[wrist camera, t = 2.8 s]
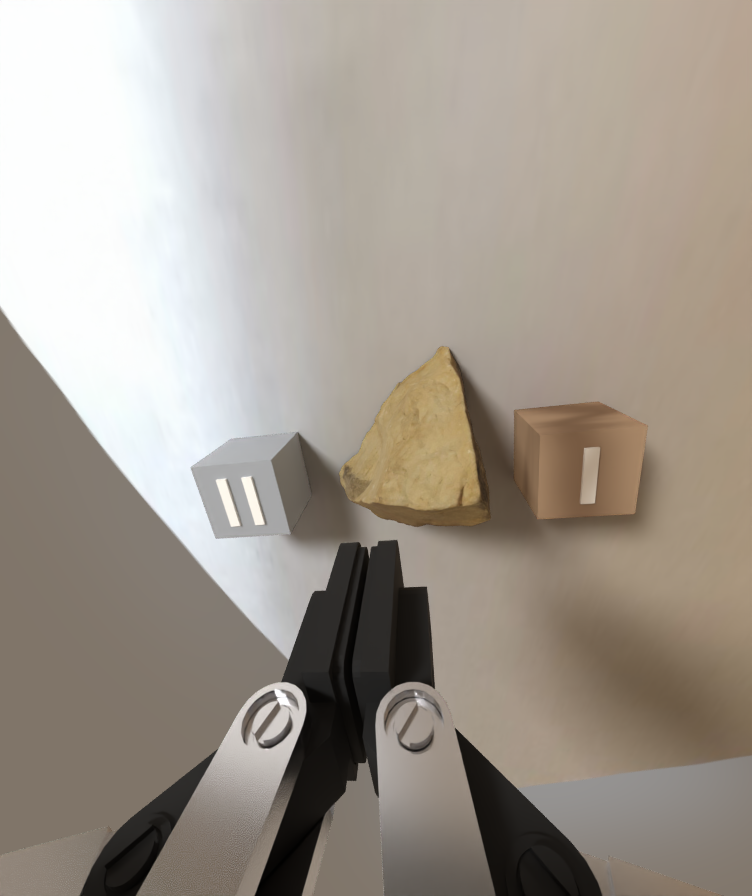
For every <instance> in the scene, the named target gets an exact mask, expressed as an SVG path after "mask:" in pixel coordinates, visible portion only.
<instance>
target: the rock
mask: <svg viewBox="0 0 752 896" xmlns="http://www.w3.org/2000/svg"><path fill="white" fill-rule="evenodd" d="M339 476H340V482H341V485H342V486H343V487H344V489H345V492H346V495H347V497H348V499H349V500H351V501H352V502H354V503H356V504H359V505H361V506H363V507H366V508H368V509H370V510H371V511H372V512H373V513H374V514H375V515H377V516H378V517H380V518H383V519H387V520H394V521H397V522H398V523H404V524H406V525H411V526H414V527H419V526H423V525H426V524H431V525H435V526H460V525H462V526H474V525H477V524H480V523H483V522H485V521H488V520H490V519H491V516H490V507H489V488H488V483H487V479H486V473H485V469H484V466H483V462H482V458H481V453H480V449H479V447H478V445H477V443H476V441H475V438H474V434H473V429H472V424H471V421H470V417H469V412H468V408H467V404H466V397H465V390H464V384H463V380H462V375H461V371H460V368H459V366H458V364H457V363H456V361H455V360H454V358H453V357H452V355H451V353H450V350H449V347H443V346H442V347H440V348H439V349H438V350H437V352H436V354H435V355H434V357H433V358H432V359H430V360H429V361H427V362H426V363H425V364H424V365H422V366H421V367H420V368H419V369H418V370H417V371H415V372H413V373H412V374H410V375H409V376H408V377H407V378H406V379H405V380H404V381H403V382H401V383H398V384H397V385H396V387H395V389H394V390H393V391H392V393H391V395H390V396H389V398H388V399H387V400H386V401H385V402H384V403H383V405H382V406H381V409H380V411H379V413H378V414H377V416H376V418H375V423H374V425H373V426H372V428H371V430H370V431H369V432H367V434H366V436H365V438H364V440H363V442H362V445H361V448H360V450H359V453H357V454H356V455H355V456H353V457H352V458H351V459H350V460H349V461H348V462H346V463H345V464H344V465H343V466H342V468H341V471H340V472H339Z"/></svg>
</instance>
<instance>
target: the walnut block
mask: <svg viewBox="0 0 752 896" xmlns="http://www.w3.org/2000/svg"><path fill="white" fill-rule="evenodd" d="M647 428H648V426H647V425H645V424H643V423H641V422H639V421H637V420H635V419H633V418H631V417H629V416H627V415H625V414H623V413H621V412H619V411H617V410H614V409H612V408H610V407H608V406H606V405H604V404H602V403H600V402H590V403H580V404H570V405H559V406H549V407H539V408H529V409H519V410H514V481H515V483H516V484H517V486H518V488H519V489H520V491H521V493H522V494H523V496H524V498H525V499H526V501H527V503H528V505H529V506H530V508H531V510H532V511H533V513H534V515H535V516H536V518H537V519H554V518H571V517H589V516H606V515H624V514H635V510H636V503H637V496H638V489H639V482H640V476H641V469H642V462H643V455H644V448H645V442H646V435H647Z"/></svg>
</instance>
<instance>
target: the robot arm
mask: <svg viewBox="0 0 752 896" xmlns="http://www.w3.org/2000/svg"><path fill="white" fill-rule="evenodd" d="M366 758H367V759H368V763H369V767H370V772H371V776H372V780H373V785H374V789H375V793H376V795H377V796H378V798H379V806H380V827H381V847H382V867H383V886H384V896H722V895H720V894H717V893H714V892H711V891H708V890H705V889H703V888H699V887H697V886H694V885H691V884H688V883H685V882H682V881H680V880H677V879H674V878H671V877H668V876H665V875H663V874H659V873H657V872H654V871H651V870H648V869H645V868H643V867H640V866H637V865H634V864H631V863H628V862H625V861H622V860H620V859H617V858H614V857H611V856H608V861H605V860H602V859H599V858H597V857H594V856H591V855H588V854H585V853H582V852H580V851H578V850H577V849H576V848H575V847H574V845H573V844H572V843H571V842H570V841H569V840H568V839H567V838H566V837H565V836H564V835H563V834H562V833H561V832H560V831H559V830H558V829H557V828H556V827H555V826H554V825H553V824H552V823H551V822H550V821H549V820H548V819H547V818H546V817H545V816H544V815H543V814H542V813H541V812H540V811H539V810H538V809H537V808H536V807H535V806H534V805H533V804H532V803H531V802H530V801H529V800H528V799H527V798H526V797H525V796H524V795H523V794H522V793H521V792H520V791H519V790H518V789H517V788H516V787H515V786H514V785H513V784H512V783H511V782H510V781H508V780H507V779H506V778H505V777H504V776H503V775H502V774H501V773H500V772H499V771H498V770H497V769H496V768H495V767H494V766H493V765H492V764H491V763H490V762H489V761H488V760H487V759H486V758H485V757H484V756H483V755H482V754H481V753H480V752H479V751H478V750H477V749H476V748H475V747H474V746H473V745H472V744H471V743H470V742H469V741H468V740H467V739H466V738H465V737H464V736H463V735H462V734H461V733H460V732H459V731H458V730H457V729H456V728H455V727H454V723H453V719H452V715H451V712H450V709H449V707H448V704H447V702H446V701H445V699H444V698H443V697H442V696H441V694H440V693H439V692H438V691H436V690H435V683H434V667H433V652H432V637H431V624H430V612H429V603H428V593H427V587H406V588H404V584H403V576H402V569H401V562H400V554H399V547H398V541H397V540H390V541H379V542H378V546H374V547H371V552H370V558H369V555H368V550H367V547H361V545H360V543H359V542H355V543H341V544H340V546H339V549H338V552H337V556H336V559H335V562H334V566H333V569H332V572H331V575H330V579H329V582H328V585H327V588H326V591H315V592H314V593H313V594H312V596H311V599H310V602H309V604H308V607H307V610H306V613H305V616H304V619H303V622H302V624H301V627H300V630H299V633H298V636H297V639H296V642H295V644H294V647H293V650H292V653H291V656H290V659H289V662H288V665H287V667H286V670H285V673H284V676H283V679H282V682H281V683H274V684H271V685H268V686H266V687H264V688H262V689H261V690H259V691H257V692H256V693H255V694H254V695H253V696H252V697H251V698H250V699H249V700H247V702H246V703H245V705H244V706H243V707H242V709H241V710H240V712H239V713H238V715H237V717H236V719H235V720H234V722H233V724H232V726H231V728H230V729H229V731H228V733H227V735H226V736H225V738H224V740H223V742H222V744H221V746H220V747H219V749H217V750H216V751H215V752H214V753H212V754H211V755H210V756H209V757H207V758H206V759H205V760H204V761H202V762H201V763H200V764H198V765H197V766H196V767H195V768H193V769H192V770H191V771H190V772H188V773H187V774H186V775H185V776H183V777H182V778H181V779H179V780H178V781H177V782H176V783H175V784H173V785H172V786H171V787H169V788H168V789H167V790H166V791H164V792H163V793H162V794H161V795H159V796H158V797H157V798H156V799H154V800H153V801H152V802H150V803H149V804H148V805H147V806H145V807H144V808H143V809H142V810H140V811H139V812H138V813H137V814H135V815H134V816H133V817H132V818H130V819H129V820H128V821H127V822H126V823H125V824H124V825H123V826H122V827H121V828H120V829H119V830H115V831H112V830H111V828H110V827H109V826H108V827H104V828H100V829H96V830H92V831H89V832H85V833H82V834H77V835H74V836H70V837H66V838H62V839H58V840H55V841H51V842H47V843H43V844H40V845H36V846H32V847H29V848H24V849H21V850H17V851H13V852H9V853H6V854H4V855H1V856H0V896H312V895H313V891H314V888H315V884H316V880H317V876H318V873H319V869H320V865H321V861H322V857H323V853H324V850H325V846H326V842H327V839H328V835H329V830H330V827H331V823H332V820H333V814H334V807H335V802H336V801H337V800H338V799H339V798H340V797H341V796H342V795H343V794H344V793H345V790H346V783H347V781H356V778H357V770H358V763H365V762H366Z"/></svg>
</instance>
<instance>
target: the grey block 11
mask: <svg viewBox="0 0 752 896" xmlns="http://www.w3.org/2000/svg"><path fill="white" fill-rule="evenodd" d="M191 470H192V473H193V476H194V479H195V482H196V484H197V487H198V490H199V493H200V496H201V498H202V501H203V504H204V507H205V510H206V513H207V515H208V518H209V521H210V524H211V527H212V529H213V532H214V535H215V538H216V539H219V538H235V537H252V536H269V535H286V534H291V532H292V531H293V529H294V527H295V525H296V523H297V521H298V520H299V518H300V516H301V514H302V512H303V511H304V509H305V507H306V505H307V503H308V501H309V500H310V498H311V496H312V493H311V489H310V484H309V480H308V476H307V471H306V467H305V462H304V458H303V454H302V449H301V445H300V440H299V436H298V432H293V433H283V434H274V435H264V436H254V437H244V438H235V439H230V440H229V441H227V442H226V443H224V444H223V445H222V446H220V447H219V448H217V449H216V450H215V451H213V452H212V453H210V454H209V455H207V456H206V457H205V458H203V459H202V460H200V461H199V462H197V463H196V464H195V465H193V466H192V467H191Z"/></svg>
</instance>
